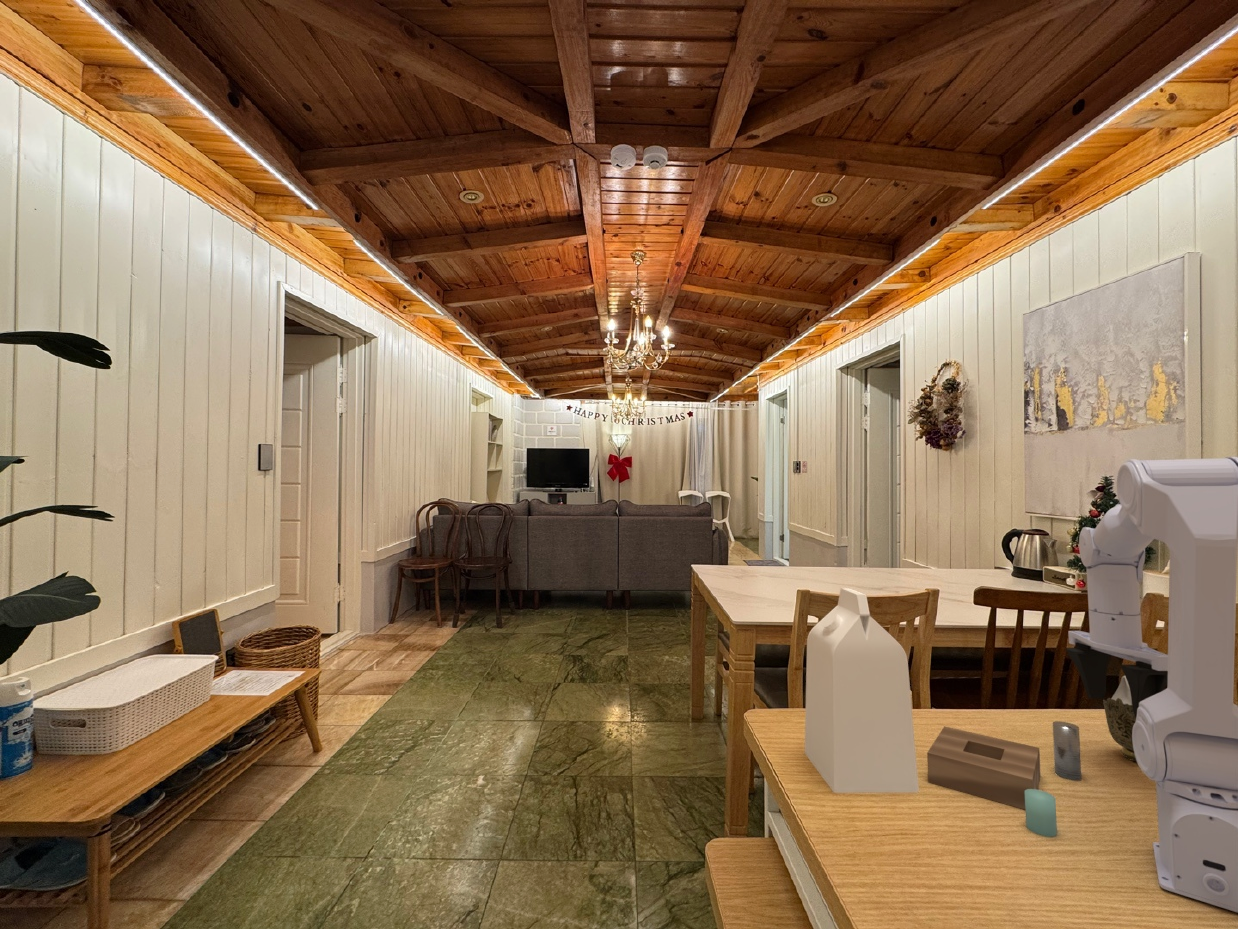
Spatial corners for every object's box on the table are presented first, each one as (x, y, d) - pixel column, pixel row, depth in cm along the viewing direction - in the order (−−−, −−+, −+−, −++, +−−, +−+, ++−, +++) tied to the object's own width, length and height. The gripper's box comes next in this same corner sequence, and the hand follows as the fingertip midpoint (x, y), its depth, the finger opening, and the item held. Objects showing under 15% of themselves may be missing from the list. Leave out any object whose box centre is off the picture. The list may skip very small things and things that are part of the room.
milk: (919, 792, 77) (912, 598, 78) (834, 793, 77) (829, 598, 78) (878, 753, 89) (873, 585, 90) (804, 753, 89) (801, 585, 90)
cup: (1113, 764, 85) (1110, 709, 85) (1099, 745, 91) (1097, 694, 92) (1180, 775, 81) (1177, 718, 82) (1161, 755, 88) (1158, 702, 88)
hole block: (1033, 812, 72) (1032, 779, 72) (928, 782, 80) (927, 752, 80) (1040, 776, 81) (1039, 747, 81) (945, 752, 89) (944, 726, 89)
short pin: (1056, 840, 66) (1054, 804, 66) (1024, 830, 68) (1023, 796, 68) (1057, 828, 68) (1056, 794, 69) (1027, 819, 70) (1025, 786, 71)
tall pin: (1081, 782, 79) (1078, 731, 80) (1054, 776, 81) (1052, 726, 82) (1081, 774, 82) (1079, 724, 82) (1055, 768, 84) (1053, 719, 84)
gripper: (1192, 622, 75) (1198, 727, 74) (1097, 602, 90) (1102, 690, 89) (1140, 622, 75) (1146, 728, 74) (1053, 602, 90) (1058, 690, 89)
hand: (1119, 707), depth 82 cm, fingers open, 7 cm apart
